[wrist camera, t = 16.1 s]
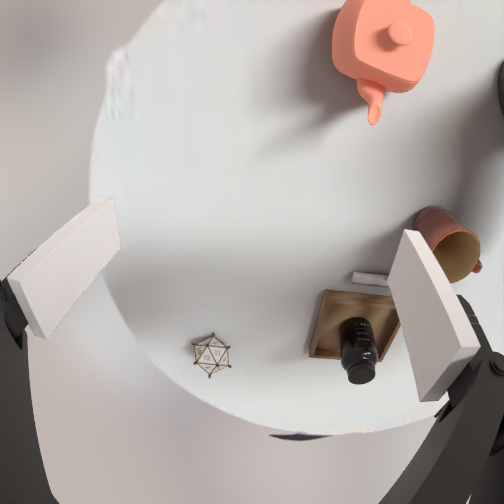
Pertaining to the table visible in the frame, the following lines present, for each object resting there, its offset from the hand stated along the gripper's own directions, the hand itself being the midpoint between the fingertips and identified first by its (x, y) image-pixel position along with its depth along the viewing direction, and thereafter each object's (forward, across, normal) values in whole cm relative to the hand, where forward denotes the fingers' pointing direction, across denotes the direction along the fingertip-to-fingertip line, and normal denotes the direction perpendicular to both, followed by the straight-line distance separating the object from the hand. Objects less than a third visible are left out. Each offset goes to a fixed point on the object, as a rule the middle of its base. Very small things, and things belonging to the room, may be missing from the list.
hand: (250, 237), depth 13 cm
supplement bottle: (+31, +18, -35) cm, 50 cm away
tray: (+32, +18, -35) cm, 50 cm away
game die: (+32, -10, -45) cm, 56 cm away
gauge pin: (+32, +20, -23) cm, 44 cm away
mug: (+32, +27, -12) cm, 43 cm away
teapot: (+32, +11, +13) cm, 36 cm away
